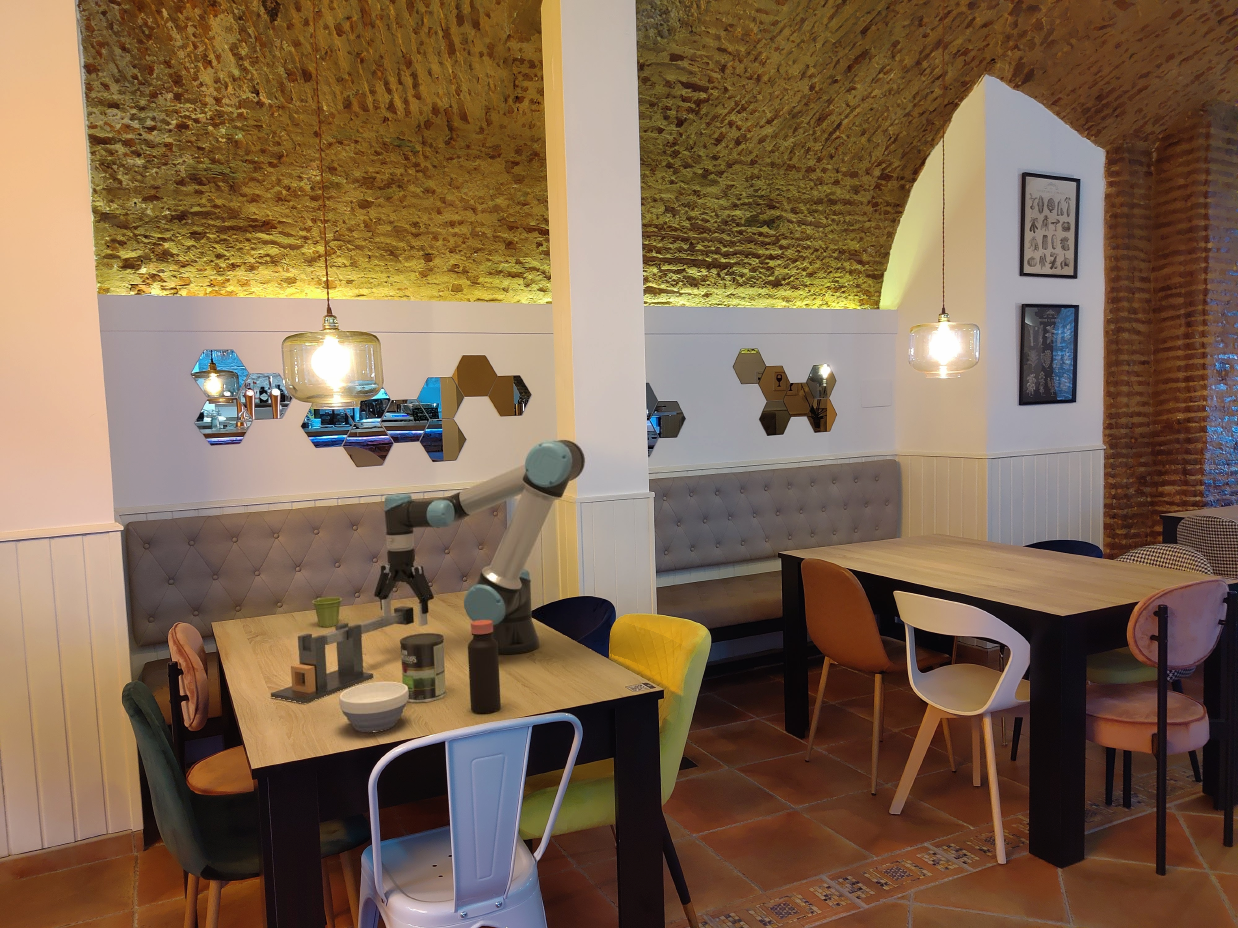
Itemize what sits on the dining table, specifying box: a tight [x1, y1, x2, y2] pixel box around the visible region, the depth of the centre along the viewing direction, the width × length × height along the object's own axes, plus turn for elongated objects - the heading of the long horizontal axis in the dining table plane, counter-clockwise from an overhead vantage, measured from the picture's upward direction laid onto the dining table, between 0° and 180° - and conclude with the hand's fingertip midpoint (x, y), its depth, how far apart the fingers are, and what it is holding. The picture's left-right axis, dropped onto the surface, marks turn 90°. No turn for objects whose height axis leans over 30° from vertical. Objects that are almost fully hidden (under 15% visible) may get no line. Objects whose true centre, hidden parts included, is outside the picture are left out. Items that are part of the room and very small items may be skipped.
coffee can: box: [399, 632, 447, 704], centre depth 201 cm, size 10×10×14 cm
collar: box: [290, 663, 316, 693], centre depth 205 cm, size 6×2×6 cm, turn 61°
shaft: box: [321, 605, 415, 646], centre depth 224 cm, size 4×30×4 cm, turn 151°
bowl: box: [338, 681, 409, 733], centre depth 182 cm, size 14×14×8 cm
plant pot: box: [312, 596, 343, 628], centre depth 280 cm, size 9×9×9 cm
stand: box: [270, 622, 374, 704], centre depth 210 cm, size 12×22×14 cm, turn 151°
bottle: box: [467, 620, 502, 715], centre depth 189 cm, size 7×7×20 cm
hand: (405, 623), depth 236 cm, fingers open, 13 cm apart
